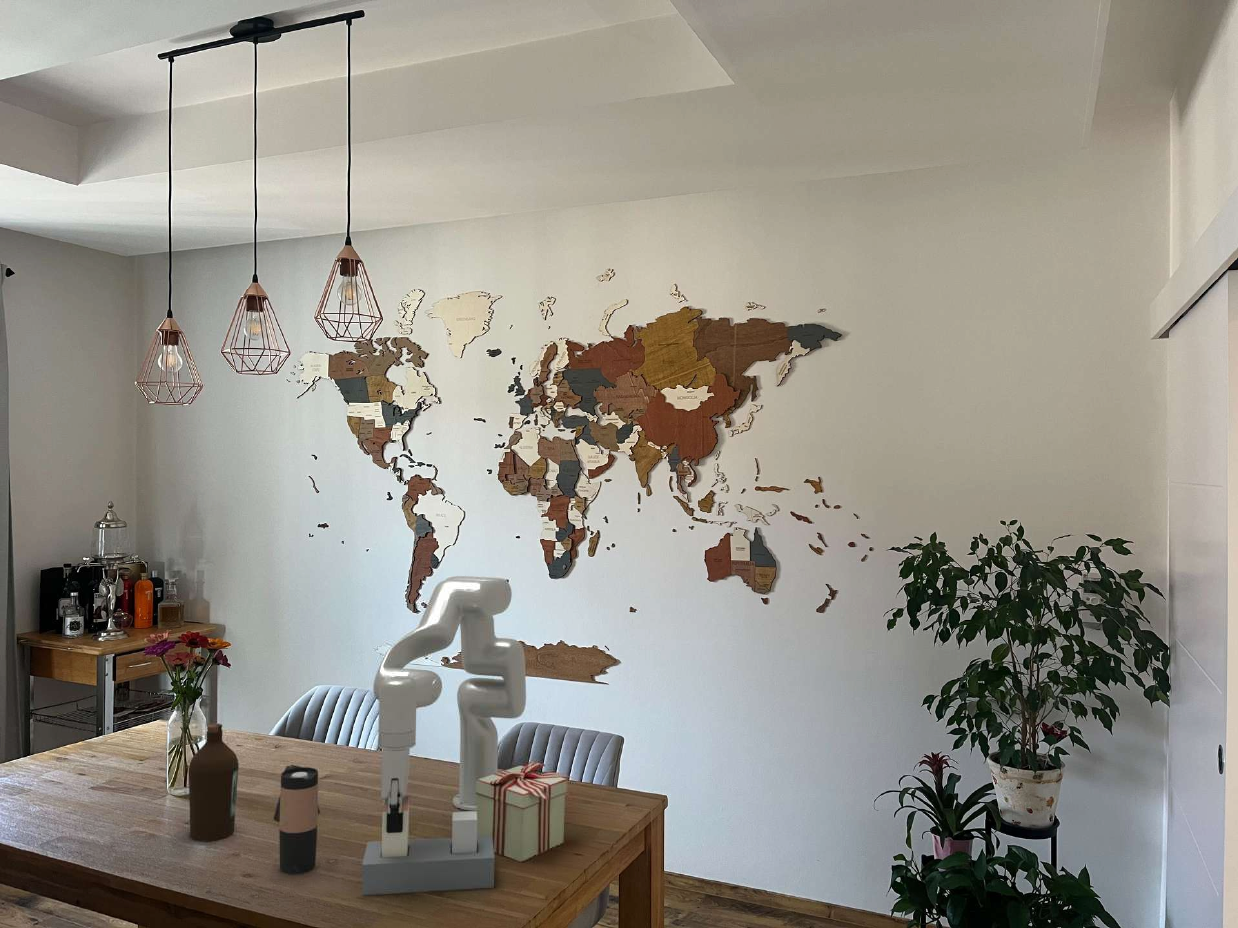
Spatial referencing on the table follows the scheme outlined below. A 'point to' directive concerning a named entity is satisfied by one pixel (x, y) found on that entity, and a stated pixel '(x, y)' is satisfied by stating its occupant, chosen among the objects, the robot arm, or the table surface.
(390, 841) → the cream plug
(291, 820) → the travel mug
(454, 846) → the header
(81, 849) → the table surface
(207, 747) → the olive oil
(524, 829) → the gift box
